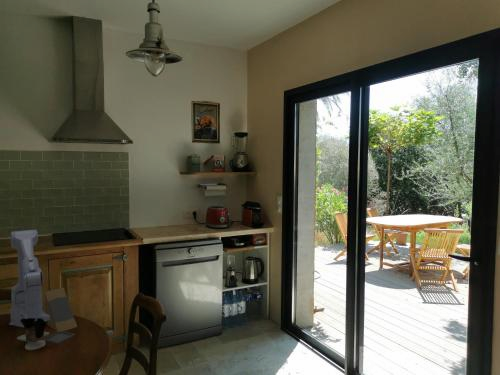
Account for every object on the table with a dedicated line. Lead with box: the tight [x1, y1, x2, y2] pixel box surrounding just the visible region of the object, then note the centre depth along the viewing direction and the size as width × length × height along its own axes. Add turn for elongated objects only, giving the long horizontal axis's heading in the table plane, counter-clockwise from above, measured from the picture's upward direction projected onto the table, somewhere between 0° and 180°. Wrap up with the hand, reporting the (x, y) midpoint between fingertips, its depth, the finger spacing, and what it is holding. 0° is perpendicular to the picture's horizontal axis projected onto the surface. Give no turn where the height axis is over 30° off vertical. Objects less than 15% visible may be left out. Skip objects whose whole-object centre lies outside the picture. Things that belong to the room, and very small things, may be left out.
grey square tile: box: [42, 331, 76, 345], centre depth 158 cm, size 8×8×1 cm
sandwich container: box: [44, 287, 78, 333], centre depth 171 cm, size 9×15×15 cm, turn 46°
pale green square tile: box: [16, 331, 50, 343], centre depth 160 cm, size 8×8×1 cm
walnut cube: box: [24, 326, 45, 343], centre depth 151 cm, size 4×4×5 cm
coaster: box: [24, 339, 46, 351], centre depth 152 cm, size 7×7×1 cm
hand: (35, 336), depth 151 cm, fingers closed on walnut cube, 4 cm apart
